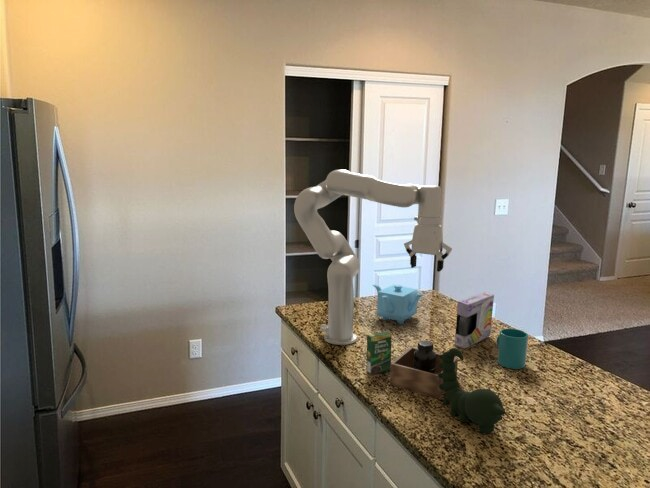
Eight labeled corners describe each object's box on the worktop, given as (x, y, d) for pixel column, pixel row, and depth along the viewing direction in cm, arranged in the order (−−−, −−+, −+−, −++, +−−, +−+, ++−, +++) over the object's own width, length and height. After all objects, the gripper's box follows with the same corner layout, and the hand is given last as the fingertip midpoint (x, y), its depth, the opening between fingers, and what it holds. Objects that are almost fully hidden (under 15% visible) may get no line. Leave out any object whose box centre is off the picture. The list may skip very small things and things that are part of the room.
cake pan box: (463, 350, 185) (466, 303, 182) (451, 346, 189) (454, 300, 185) (491, 337, 198) (495, 293, 194) (480, 333, 201) (483, 291, 198)
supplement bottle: (434, 384, 156) (436, 348, 154) (412, 382, 157) (414, 346, 155) (434, 375, 163) (436, 339, 160) (413, 373, 164) (414, 338, 162)
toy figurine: (430, 409, 146) (489, 449, 124) (430, 345, 144) (490, 374, 122) (457, 403, 150) (519, 440, 127) (457, 340, 148) (520, 367, 125)
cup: (506, 353, 182) (508, 324, 180) (531, 367, 171) (534, 335, 169) (486, 357, 179) (488, 327, 176) (510, 371, 168) (513, 339, 166)
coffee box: (369, 375, 164) (371, 337, 161) (365, 371, 166) (366, 334, 164) (391, 371, 167) (392, 333, 165) (386, 367, 170) (387, 330, 167)
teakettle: (410, 311, 229) (411, 279, 226) (425, 325, 210) (426, 291, 208) (369, 312, 225) (370, 280, 223) (381, 327, 207) (382, 292, 204)
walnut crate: (389, 384, 157) (390, 363, 156) (410, 366, 171) (410, 346, 169) (439, 398, 149) (440, 376, 148) (456, 378, 162) (457, 357, 161)
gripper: (401, 220, 177) (399, 267, 181) (449, 224, 168) (446, 274, 172) (409, 217, 184) (407, 263, 187) (456, 222, 175) (453, 270, 178)
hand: (426, 268), depth 179 cm, fingers open, 9 cm apart
